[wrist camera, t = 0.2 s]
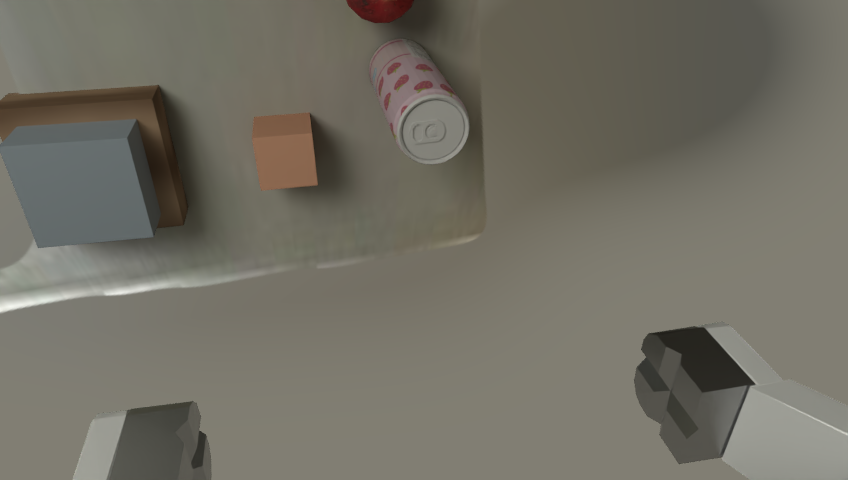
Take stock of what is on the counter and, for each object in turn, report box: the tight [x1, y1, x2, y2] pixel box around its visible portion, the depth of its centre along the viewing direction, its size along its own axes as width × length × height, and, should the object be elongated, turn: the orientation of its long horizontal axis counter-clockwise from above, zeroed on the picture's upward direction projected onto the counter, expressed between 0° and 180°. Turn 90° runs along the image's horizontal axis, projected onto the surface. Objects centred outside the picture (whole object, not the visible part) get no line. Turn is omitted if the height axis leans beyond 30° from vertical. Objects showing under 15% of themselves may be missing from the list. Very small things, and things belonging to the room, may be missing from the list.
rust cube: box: [252, 113, 318, 191], centre depth 56 cm, size 5×5×5 cm
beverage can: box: [369, 38, 470, 165], centre depth 50 cm, size 6×6×15 cm
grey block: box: [0, 119, 161, 248], centre depth 50 cm, size 9×9×4 cm
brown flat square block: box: [0, 85, 188, 228], centre depth 54 cm, size 12×12×4 cm
